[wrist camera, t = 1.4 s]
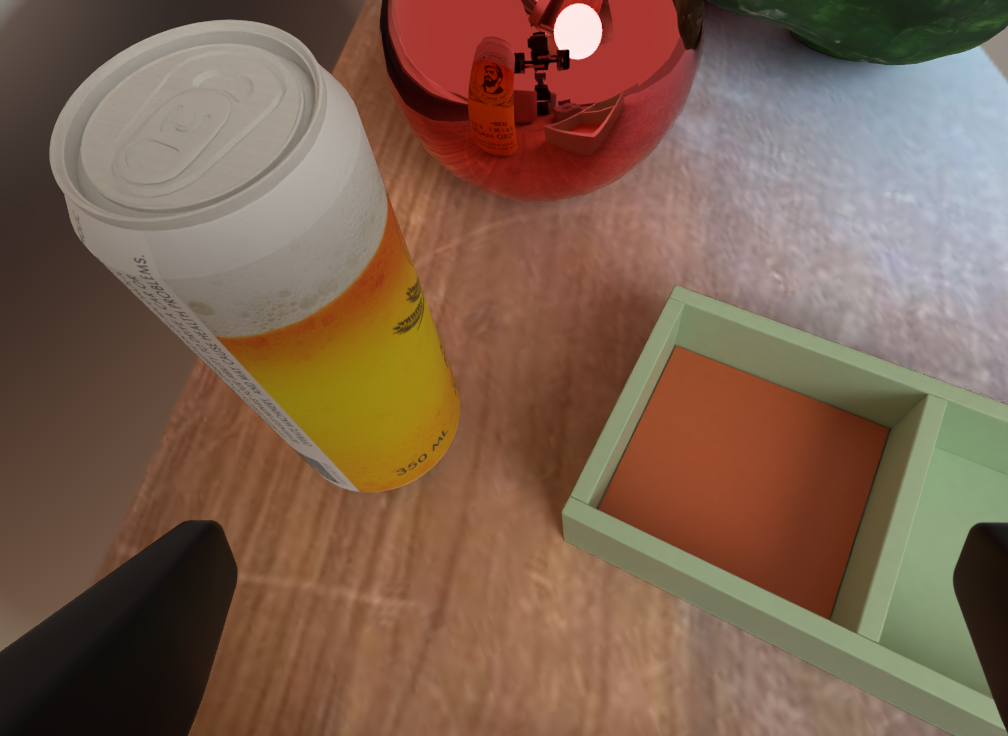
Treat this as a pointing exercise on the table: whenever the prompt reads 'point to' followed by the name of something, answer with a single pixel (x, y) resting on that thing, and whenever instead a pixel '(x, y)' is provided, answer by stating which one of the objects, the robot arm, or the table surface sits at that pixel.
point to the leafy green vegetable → (881, 25)
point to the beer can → (263, 241)
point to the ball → (541, 86)
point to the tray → (803, 500)
